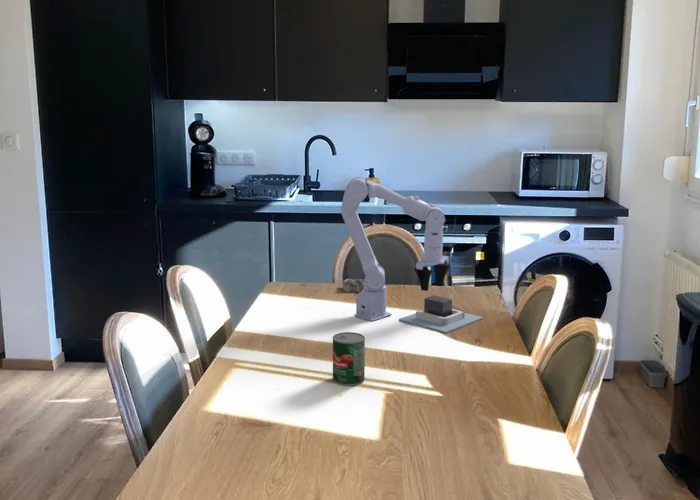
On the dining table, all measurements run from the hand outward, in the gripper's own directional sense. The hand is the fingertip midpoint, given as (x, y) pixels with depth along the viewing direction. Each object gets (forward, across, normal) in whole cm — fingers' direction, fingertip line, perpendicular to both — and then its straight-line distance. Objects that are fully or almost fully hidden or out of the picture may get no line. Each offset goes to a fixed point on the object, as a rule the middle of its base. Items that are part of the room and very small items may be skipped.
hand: (431, 288), depth 228 cm
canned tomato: (+10, -56, -17) cm, 60 cm away
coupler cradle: (+9, -1, -3) cm, 10 cm away
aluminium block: (+9, -1, -3) cm, 9 cm away
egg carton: (+10, +8, +39) cm, 41 cm away
